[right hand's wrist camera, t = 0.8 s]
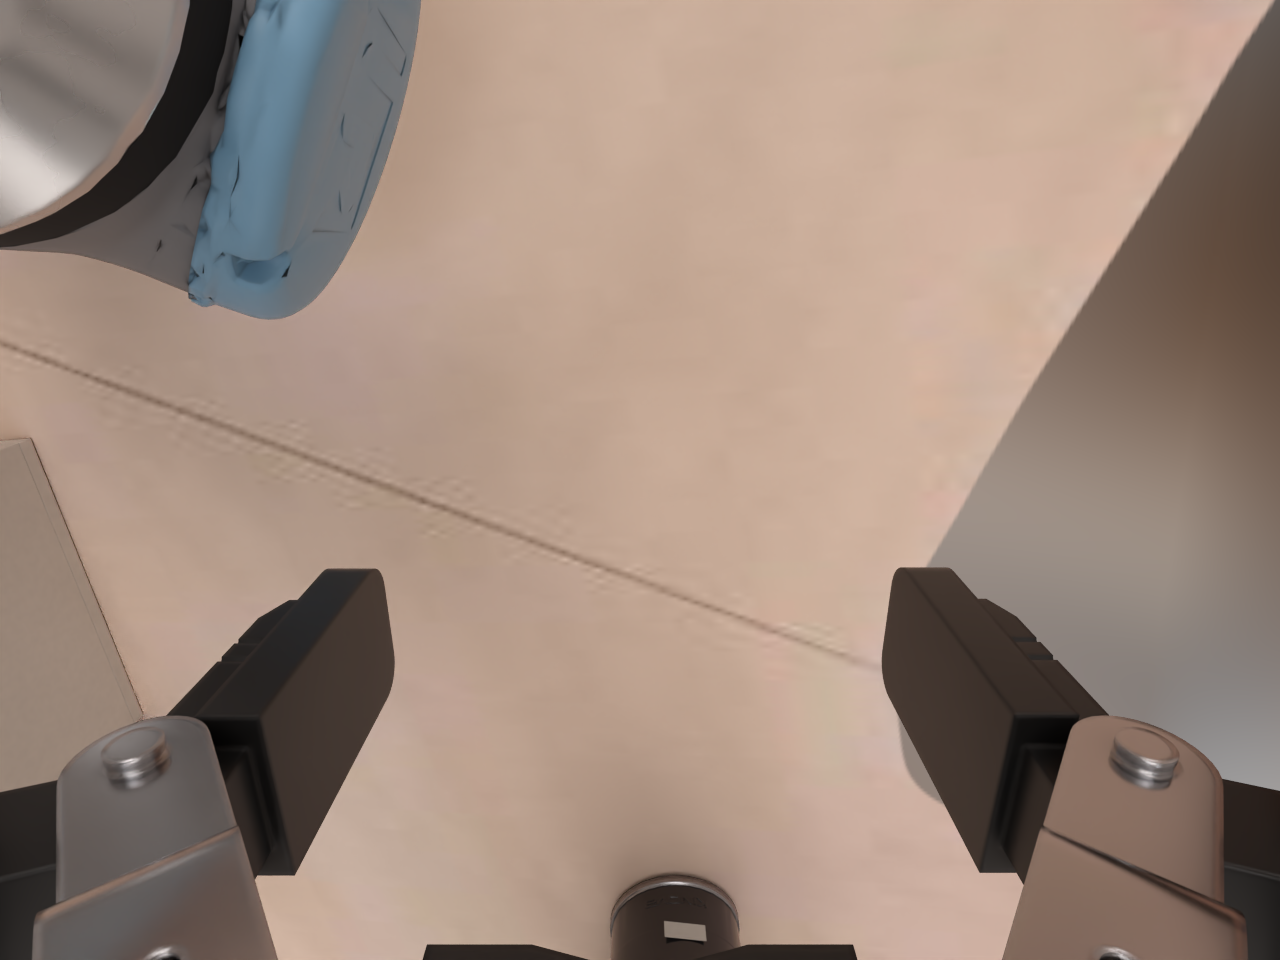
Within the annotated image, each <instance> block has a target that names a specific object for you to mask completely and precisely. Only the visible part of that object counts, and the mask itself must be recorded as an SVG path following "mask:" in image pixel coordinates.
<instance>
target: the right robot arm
mask: <svg viewBox="0 0 1280 960" xmlns="http://www.w3.org/2000/svg"><path fill="white" fill-rule="evenodd" d="M394 665H395V661H394V650H393V643H392V635H391V628H390V621H389V614H388V607H387V600H386V593H385V586H384V581H383V577H382V575H381V573H380V571H379V570H378V569H326V570H324V571H323V572H322V573H321V574H320V575H319V577H318V578H317V579H316V580H315V581H314V582H313V583H312V584H311V586H310V587H309V588H308V589H307V590H306V591H305V592H304V593H303V595H302V596H301V597H300V598H299V599H298V600H289V601H287V602H285V603H284V604H282V605H280V606H278V607H277V608H275V609H273V610H272V611H270V612H268V613H267V614H265V615H263V616H261V617H260V618H258V619H257V620H256V621H255V622H254V624H253V625H252V626H251V627H250V628H249V629H248V630H247V631H246V632H245V633H244V634H243V635H242V636H241V637H240V638H239V642H238V644H234V645H233V646H232V647H231V648H230V649H229V650H228V651H227V652H226V653H225V654H224V655H223V656H222V661H221V662H217V663H216V664H215V665H214V666H213V667H212V668H211V669H210V670H209V671H208V672H207V673H206V674H205V675H204V676H203V677H202V678H201V680H200V681H199V682H198V683H197V684H196V685H195V686H194V687H193V688H192V689H191V690H190V691H189V692H188V693H187V694H186V695H185V696H184V698H183V699H182V700H181V701H180V702H179V703H178V704H177V705H176V706H175V707H174V708H173V709H172V710H171V711H170V712H169V713H168V714H167V715H166V716H163V717H155V718H151V719H146V720H142V721H139V722H136V723H132V724H130V725H127V726H124V727H122V728H119V729H117V730H115V731H113V732H110V733H108V734H106V735H105V736H103V737H101V738H99V739H97V740H96V741H94V742H93V743H91V744H90V745H88V746H87V747H85V748H84V749H83V750H81V751H80V752H79V753H78V754H76V755H75V756H74V757H73V758H72V759H71V760H70V761H69V762H68V763H67V765H66V766H65V767H64V769H63V770H62V772H61V774H60V776H59V778H58V780H55V781H51V782H46V783H41V784H36V785H32V786H27V787H22V788H18V789H13V790H8V791H3V792H0V960H278V958H277V955H276V951H275V948H274V944H273V941H272V938H271V934H270V931H269V927H268V924H267V920H266V917H265V914H264V910H263V907H262V903H261V900H260V897H259V893H258V890H257V886H256V883H255V879H256V877H257V875H295V874H296V872H297V870H298V868H299V866H300V864H301V862H302V860H303V859H304V857H305V855H306V853H307V851H308V849H309V847H310V845H311V843H312V841H313V839H314V838H315V836H316V834H317V832H318V830H319V828H320V826H321V824H322V822H323V820H324V818H325V816H326V815H327V813H328V811H329V809H330V807H331V805H332V803H333V801H334V799H335V797H336V795H337V794H338V792H339V790H340V788H341V786H342V784H343V782H344V780H345V778H346V776H347V774H348V773H349V771H350V769H351V767H352V765H353V763H354V761H355V759H356V757H357V755H358V753H359V751H360V750H361V748H362V746H363V744H364V742H365V740H366V738H367V736H368V734H369V732H370V730H371V729H372V727H373V725H374V723H375V721H376V719H377V717H378V715H379V713H380V711H381V709H382V708H383V706H384V704H385V702H386V700H387V698H388V696H389V693H390V690H391V687H392V683H393V677H394ZM882 673H883V680H884V684H885V688H886V691H887V694H888V696H889V698H890V700H891V702H892V704H893V706H894V708H895V710H896V712H897V714H898V715H899V717H900V719H901V721H902V723H903V725H904V727H905V729H906V731H907V733H908V735H909V737H910V739H911V741H912V743H913V745H914V746H915V748H916V750H917V752H918V754H919V756H920V758H921V760H922V762H923V764H924V766H925V768H926V770H927V772H928V774H929V775H930V777H931V779H932V781H933V783H934V785H935V787H936V789H937V791H938V793H939V795H940V797H941V799H942V801H943V803H944V805H945V806H946V808H947V810H948V812H949V814H950V816H951V818H952V820H953V822H954V824H955V826H956V828H957V830H958V832H959V834H960V835H961V837H962V839H963V841H964V843H965V845H966V847H967V849H968V851H969V853H970V855H971V857H972V859H973V861H974V863H975V865H976V866H977V868H978V870H979V872H980V873H1017V874H1018V876H1019V878H1020V879H1021V881H1022V883H1023V885H1024V886H1023V890H1022V893H1021V897H1020V900H1019V903H1018V907H1017V910H1016V914H1015V917H1014V920H1013V924H1012V927H1011V931H1010V934H1009V938H1008V941H1007V944H1006V948H1005V951H1004V955H1003V958H1002V960H1280V791H1277V790H1272V789H1267V788H1263V787H1258V786H1253V785H1249V784H1244V783H1239V782H1234V781H1230V780H1225V779H1222V778H1221V776H1220V774H1219V772H1218V770H1217V769H1216V767H1215V766H1214V765H1213V763H1212V762H1211V761H1210V760H1209V759H1208V758H1207V757H1206V756H1205V755H1204V754H1202V753H1201V752H1200V751H1199V750H1197V749H1196V748H1195V747H1193V746H1192V745H1190V744H1189V743H1187V742H1186V741H1184V740H1183V739H1181V738H1179V737H1177V736H1175V735H1174V734H1172V733H1170V732H1167V731H1165V730H1163V729H1161V728H1158V727H1156V726H1153V725H1150V724H1148V723H1144V722H1141V721H1138V720H1134V719H1129V718H1125V717H1117V716H1109V715H1108V714H1107V713H1106V711H1105V710H1104V709H1103V708H1102V707H1101V706H1100V705H1099V704H1098V703H1097V702H1096V701H1095V700H1094V699H1093V698H1092V697H1091V695H1090V694H1089V693H1088V692H1087V691H1086V690H1085V689H1084V688H1083V687H1082V686H1081V685H1080V684H1079V683H1078V682H1077V681H1076V680H1075V678H1074V677H1073V676H1072V675H1071V674H1070V673H1069V672H1068V671H1067V670H1066V669H1065V668H1064V667H1063V666H1062V665H1061V664H1060V662H1059V661H1058V660H1053V655H1052V654H1051V653H1050V652H1049V651H1048V650H1047V649H1046V648H1045V646H1044V645H1043V644H1042V643H1041V642H1037V641H1036V637H1035V636H1034V635H1033V634H1032V633H1031V632H1030V630H1029V629H1028V628H1027V627H1026V626H1025V625H1024V624H1023V623H1022V622H1021V621H1020V620H1019V619H1018V618H1017V617H1016V616H1014V615H1013V614H1011V613H1009V612H1008V611H1006V610H1004V609H1003V608H1001V607H999V606H998V605H996V604H994V603H992V602H991V601H989V600H987V599H977V597H976V596H975V595H974V594H973V593H972V592H971V591H970V589H969V588H968V587H967V586H966V585H965V584H964V583H963V582H962V580H961V579H960V578H959V577H958V576H957V575H956V574H955V572H954V571H953V570H952V569H950V568H898V569H897V570H896V572H895V574H894V576H893V580H892V585H891V592H890V600H889V607H888V614H887V622H886V629H885V636H884V643H883V651H882ZM610 932H611V960H857V957H856V953H855V950H854V947H853V945H745V946H740V938H739V921H738V914H737V910H736V907H735V905H734V903H733V902H732V900H731V899H730V898H729V896H728V895H727V894H726V893H725V892H724V891H722V890H721V889H720V888H718V887H717V886H715V885H713V884H712V883H709V882H707V881H705V880H702V879H698V878H695V877H689V876H679V875H672V876H662V877H657V878H653V879H649V880H646V881H644V882H641V883H639V884H637V885H636V886H634V887H632V888H631V889H629V890H628V891H627V892H626V893H624V894H623V895H622V896H621V898H620V899H619V900H618V901H617V903H616V905H615V907H614V909H613V912H612V915H611V930H610ZM423 960H588V959H584V958H580V957H576V956H573V955H569V954H565V953H561V952H558V951H554V950H550V949H546V948H543V947H539V946H535V945H427V947H426V950H425V953H424V957H423Z"/></svg>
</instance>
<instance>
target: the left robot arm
mask: <svg viewBox="0 0 1280 960" xmlns="http://www.w3.org/2000/svg"><path fill="white" fill-rule="evenodd" d="M420 5H421V0H0V250H18V251H37V252H57V253H68V254H76V255H81V256H85V257H89V258H93V259H97V260H101V261H104V262H108V263H112V264H115V265H118V266H121V267H124V268H127V269H130V270H133V271H136V272H139V273H142V274H144V275H146V276H149V277H151V278H154V279H156V280H159V281H161V282H164V283H166V284H169V285H171V286H174V287H176V288H179V289H181V290H184V291H186V292H188V295H189V299H191V301H192V302H194V303H196V304H198V305H200V306H202V307H208V306H212V305H218V306H221V307H224V308H227V309H230V310H233V311H236V312H239V313H242V314H245V315H248V316H251V317H255V318H259V319H267V320H271V319H281V318H285V317H288V316H290V315H293V314H295V313H296V312H298V311H300V310H301V309H303V308H305V307H306V306H307V305H309V304H310V303H311V302H312V301H313V300H314V299H315V298H316V297H317V296H318V295H319V294H320V293H321V292H322V291H323V289H324V288H325V287H326V286H327V284H328V283H329V281H330V280H331V278H332V277H333V276H334V274H335V273H336V271H337V269H338V268H339V266H340V265H341V263H342V261H343V260H344V258H345V256H346V254H347V252H348V250H349V249H350V247H351V245H352V243H353V241H354V239H355V237H356V235H357V233H358V231H359V229H360V227H361V224H362V222H363V220H364V218H365V215H366V213H367V211H368V208H369V206H370V203H371V201H372V198H373V196H374V193H375V191H376V188H377V186H378V183H379V180H380V177H381V175H382V172H383V169H384V166H385V163H386V160H387V157H388V154H389V151H390V148H391V145H392V141H393V138H394V135H395V132H396V128H397V124H398V121H399V117H400V114H401V110H402V106H403V102H404V98H405V94H406V90H407V85H408V81H409V76H410V72H411V67H412V61H413V56H414V50H415V44H416V38H417V31H418V24H419V15H420Z"/></svg>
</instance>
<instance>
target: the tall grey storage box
mask: <svg viewBox="0 0 1280 960" xmlns="http://www.w3.org/2000/svg"><path fill="white" fill-rule="evenodd" d="M142 716H143V713H142V711H141V709H140V706H139V704H138V701H137V699H136V696H135V694H134V691H133V689H132V686H131V684H130V682H129V679H128V677H127V674H126V672H125V669H124V667H123V664H122V662H121V659H120V657H119V654H118V652H117V650H116V647H115V645H114V642H113V640H112V637H111V635H110V632H109V630H108V627H107V625H106V623H105V620H104V618H103V615H102V613H101V610H100V608H99V605H98V603H97V600H96V598H95V596H94V593H93V591H92V588H91V586H90V583H89V581H88V578H87V576H86V573H85V571H84V568H83V566H82V564H81V561H80V559H79V556H78V554H77V551H76V549H75V546H74V544H73V541H72V539H71V537H70V534H69V532H68V529H67V527H66V524H65V522H64V519H63V517H62V514H61V512H60V510H59V507H58V505H57V502H56V500H55V497H54V495H53V492H52V490H51V487H50V485H49V483H48V480H47V478H46V475H45V473H44V470H43V468H42V465H41V463H40V460H39V458H38V455H37V453H36V451H35V448H34V446H33V443H32V441H31V439H30V438H28V439H16V440H5V441H0V792H3V791H8V790H13V789H18V788H22V787H27V786H32V785H36V784H41V783H46V782H51V781H55V780H58V778H59V776H60V774H61V772H62V770H63V769H64V767H65V766H66V765H67V763H68V762H69V761H70V760H71V759H72V758H73V757H74V756H75V755H76V754H78V753H79V752H80V751H81V750H83V749H84V748H85V747H87V746H88V745H90V744H91V743H93V742H94V741H96V740H97V739H99V738H101V737H103V736H105V735H106V734H108V733H110V732H113V731H115V730H117V729H119V728H122V727H124V726H127V725H130V724H132V723H136V722H137V721H138V720H139V719H140V718H141V717H142Z"/></svg>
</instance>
